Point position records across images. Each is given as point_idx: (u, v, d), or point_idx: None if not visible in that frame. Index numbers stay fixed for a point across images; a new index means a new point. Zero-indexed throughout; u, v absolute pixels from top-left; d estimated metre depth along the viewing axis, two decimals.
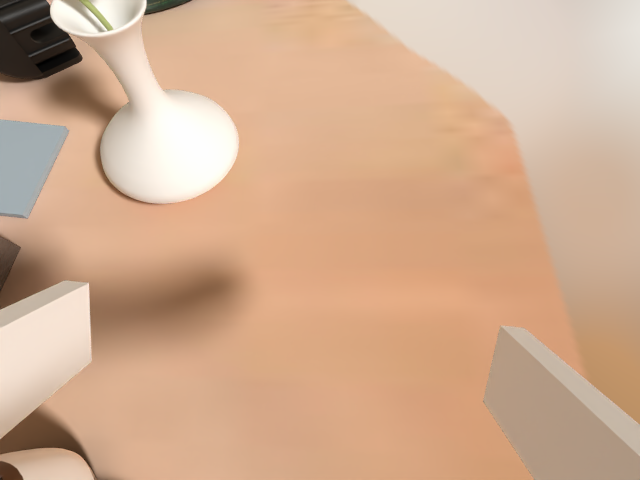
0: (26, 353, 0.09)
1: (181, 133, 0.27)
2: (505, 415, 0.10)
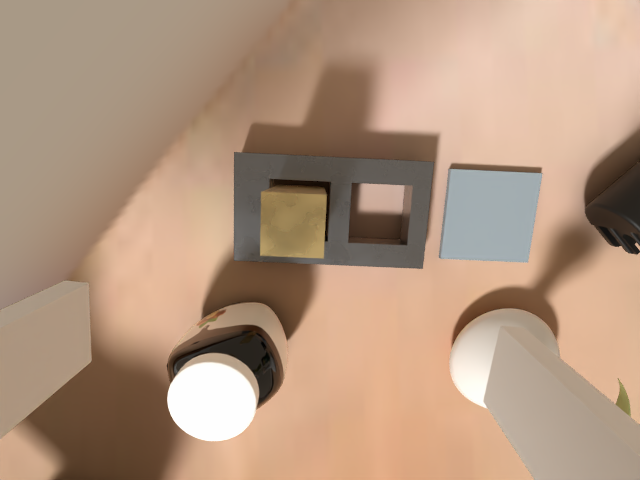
0: (26, 353, 0.09)
1: None
2: (505, 414, 0.10)
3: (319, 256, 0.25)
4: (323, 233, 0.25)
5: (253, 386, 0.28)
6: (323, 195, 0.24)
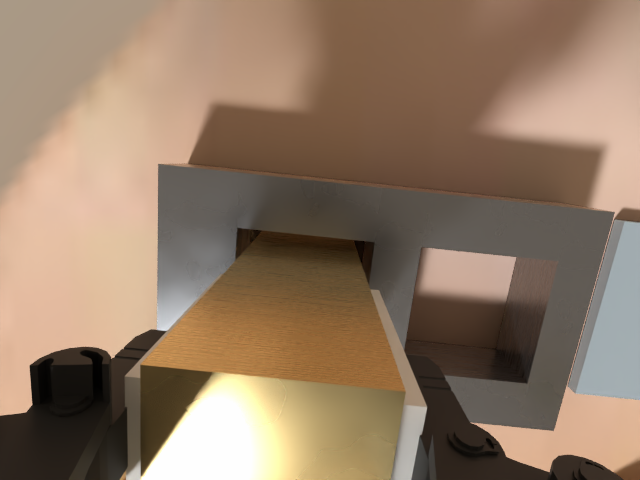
0: None
1: None
2: None
3: None
4: None
5: None
6: (391, 393, 0.06)
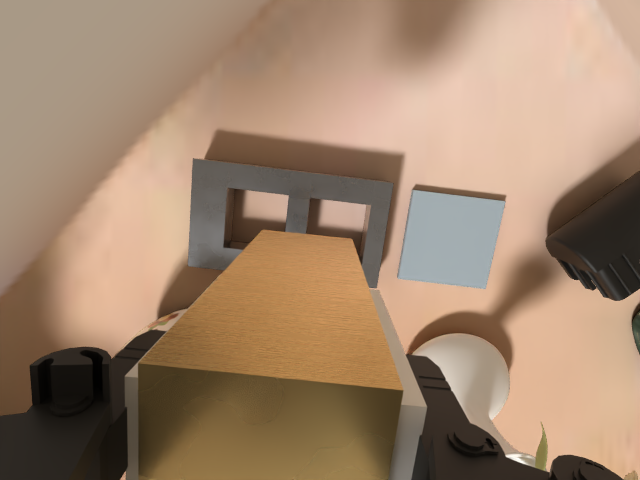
0: None
1: None
2: None
3: None
4: None
5: None
6: (389, 391, 0.06)
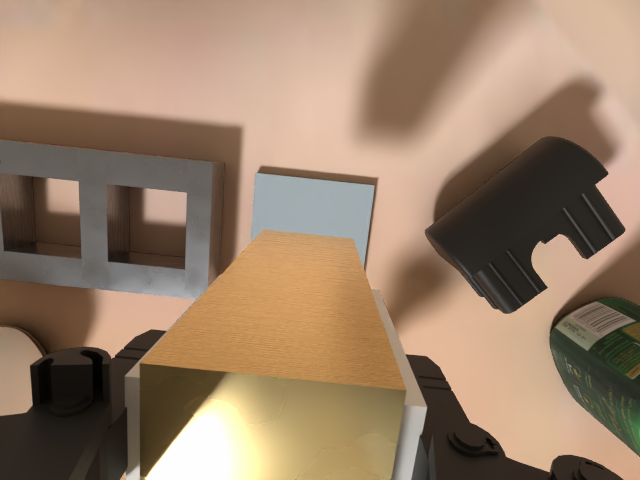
0: None
1: None
2: None
3: None
4: None
5: None
6: (392, 392, 0.06)
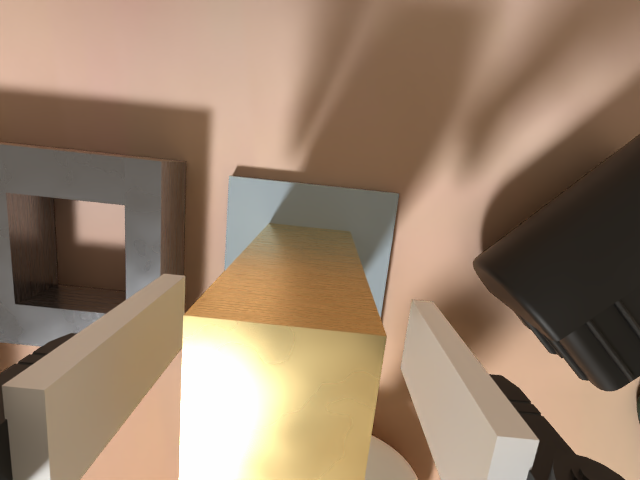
0: (152, 335, 0.10)
1: None
2: (410, 376, 0.12)
3: None
4: (367, 441, 0.08)
5: None
6: (375, 337, 0.08)
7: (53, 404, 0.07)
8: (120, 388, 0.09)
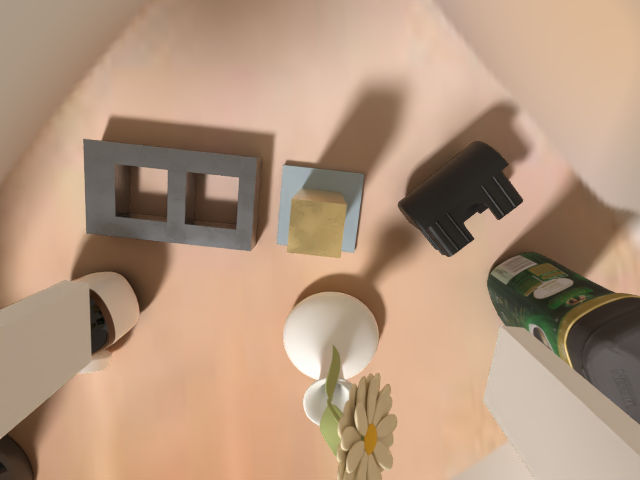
0: (26, 353, 0.09)
1: (317, 368, 0.40)
2: (505, 414, 0.10)
3: (336, 256, 0.29)
4: (342, 237, 0.29)
5: None
6: (343, 205, 0.29)
7: None
8: None
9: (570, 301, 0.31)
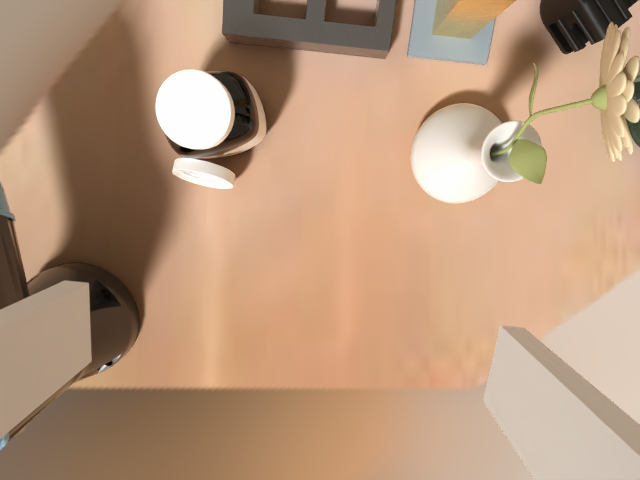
0: (26, 353, 0.09)
1: (455, 173, 0.39)
2: (505, 414, 0.10)
3: None
4: None
5: (229, 98, 0.32)
6: None
7: None
8: None
9: None
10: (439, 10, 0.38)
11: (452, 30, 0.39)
